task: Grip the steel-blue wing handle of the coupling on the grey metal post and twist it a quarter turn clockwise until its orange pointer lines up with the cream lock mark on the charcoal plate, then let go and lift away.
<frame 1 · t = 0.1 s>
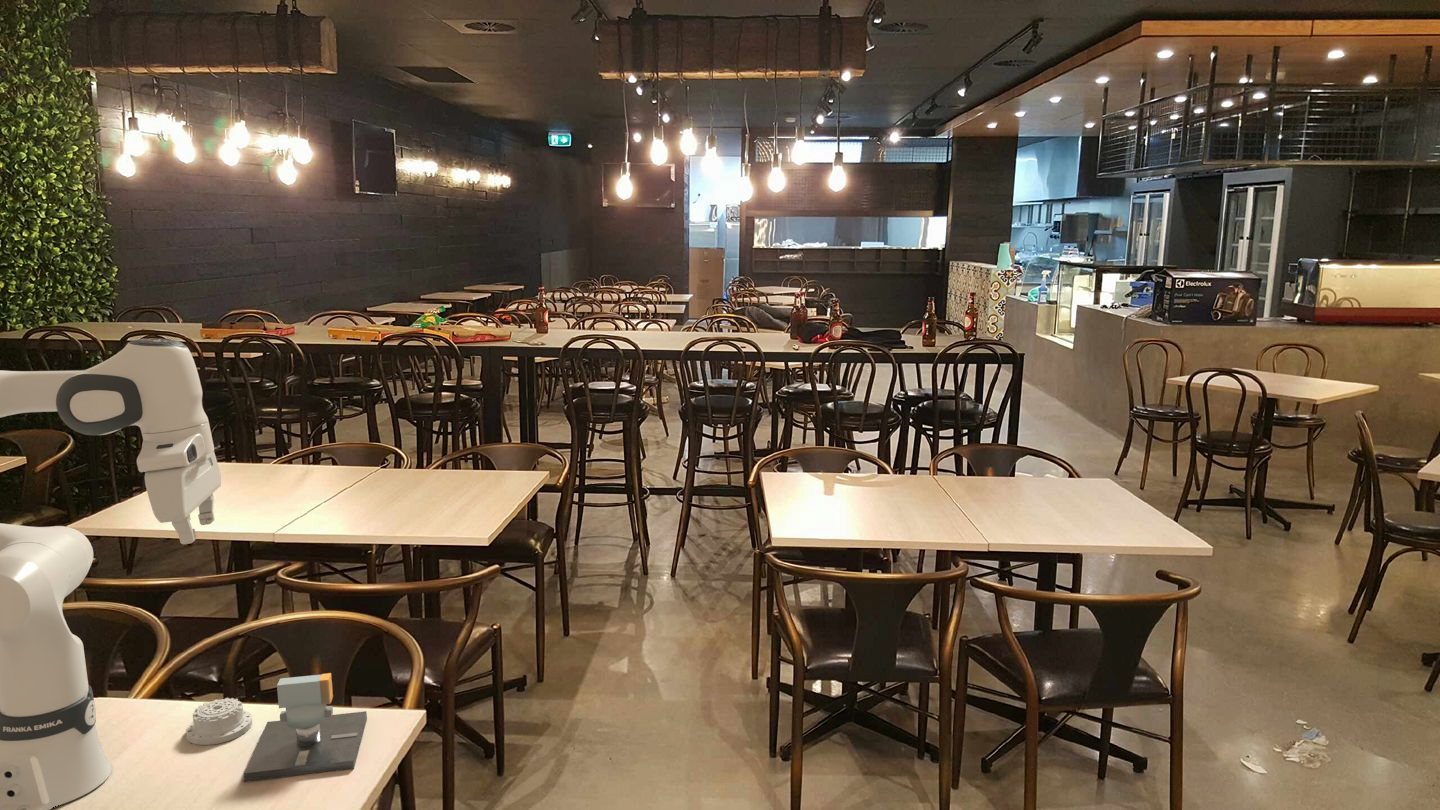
hand: (198, 532, 142), 39 cm above the table, tool pointing down, fingers open, 8 cm apart
post plate: (309, 748, 154), on the table
mechanical component: (220, 732, 160), on the table
coupling: (305, 699, 153), point 9 cm above the table, hinge at 0.0°
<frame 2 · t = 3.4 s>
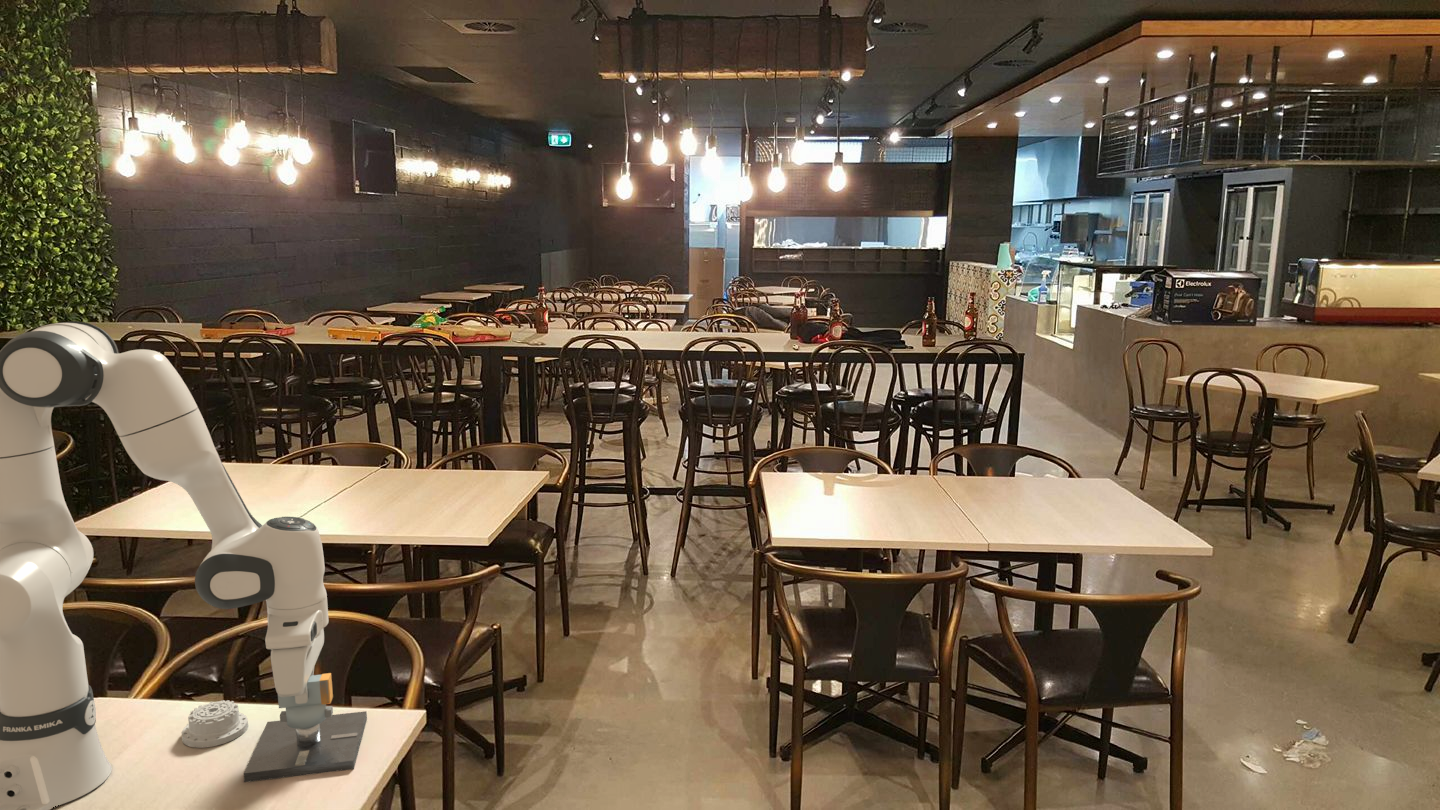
hand: (304, 696, 152), 9 cm above the table, tool pointing down, fingers closed on coupling, 2 cm apart
coupling: (305, 699, 153), point 9 cm above the table, hinge at 0.0°, touching gripper
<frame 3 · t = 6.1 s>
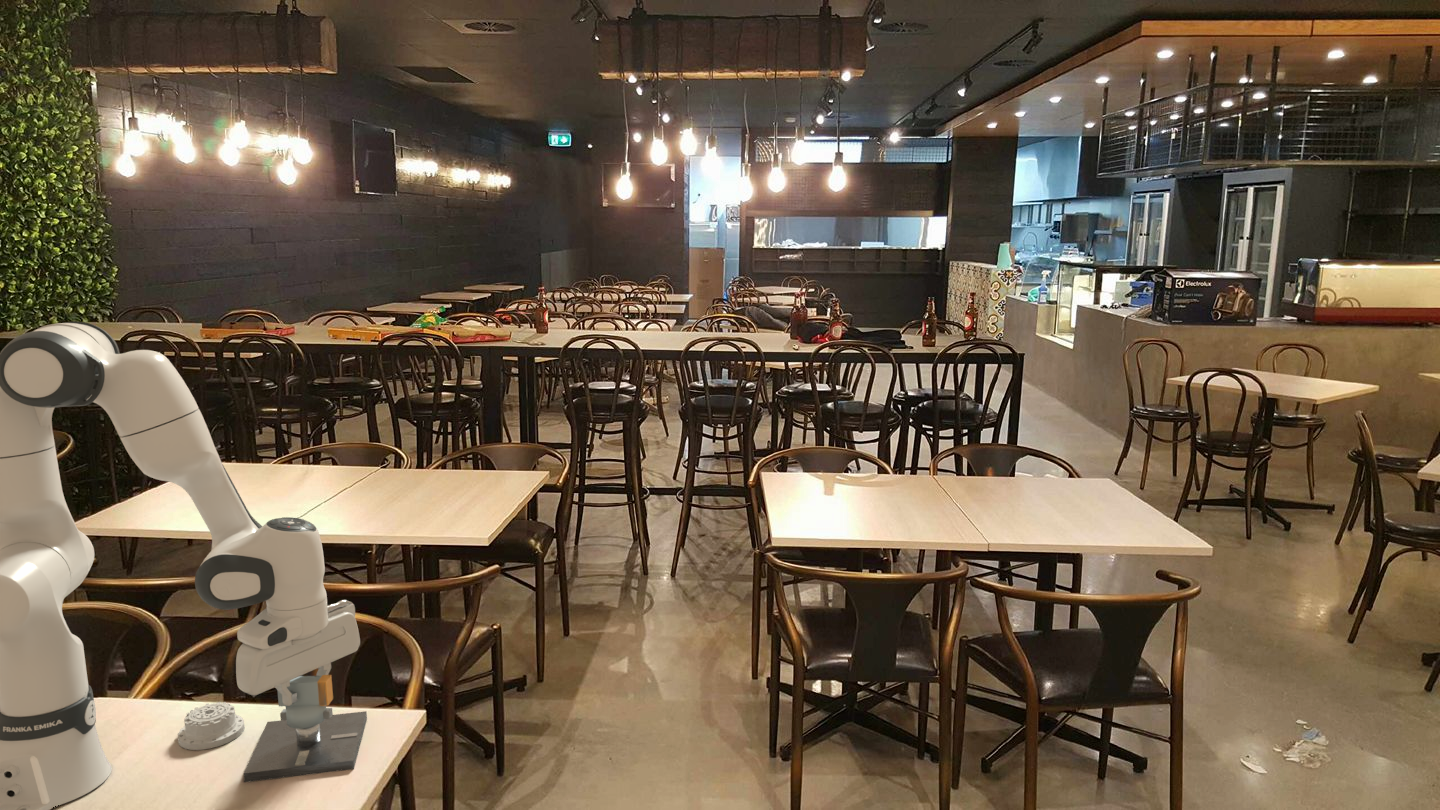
hand: (304, 696, 152), 9 cm above the table, tool pointing down, fingers closed on coupling, 4 cm apart
coupling: (305, 699, 153), point 9 cm above the table, hinge at -9.9°, touching gripper
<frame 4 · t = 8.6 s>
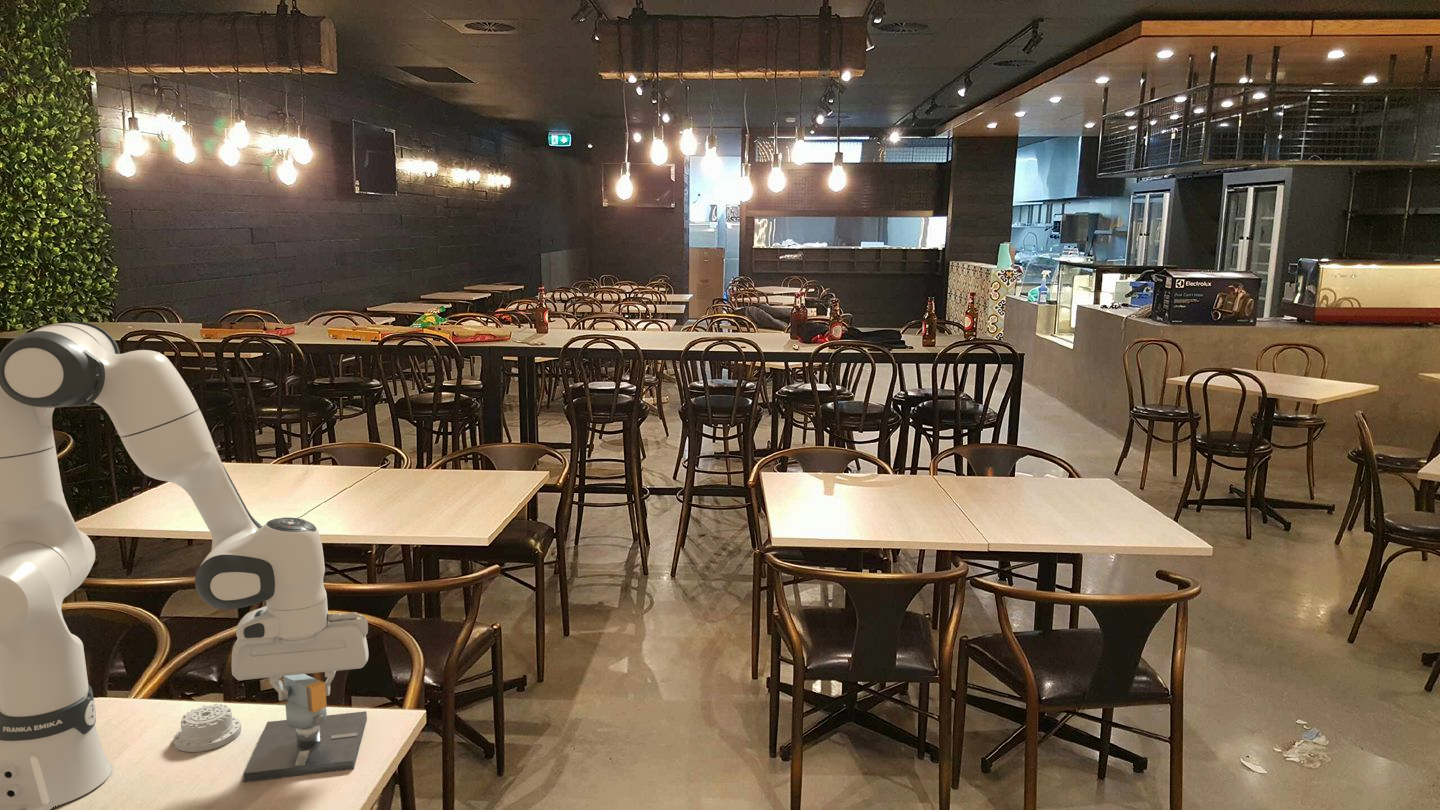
hand: (304, 696, 152), 9 cm above the table, tool pointing down, fingers closed on coupling, 5 cm apart
coupling: (305, 699, 152), point 9 cm above the table, hinge at -47.7°, touching gripper
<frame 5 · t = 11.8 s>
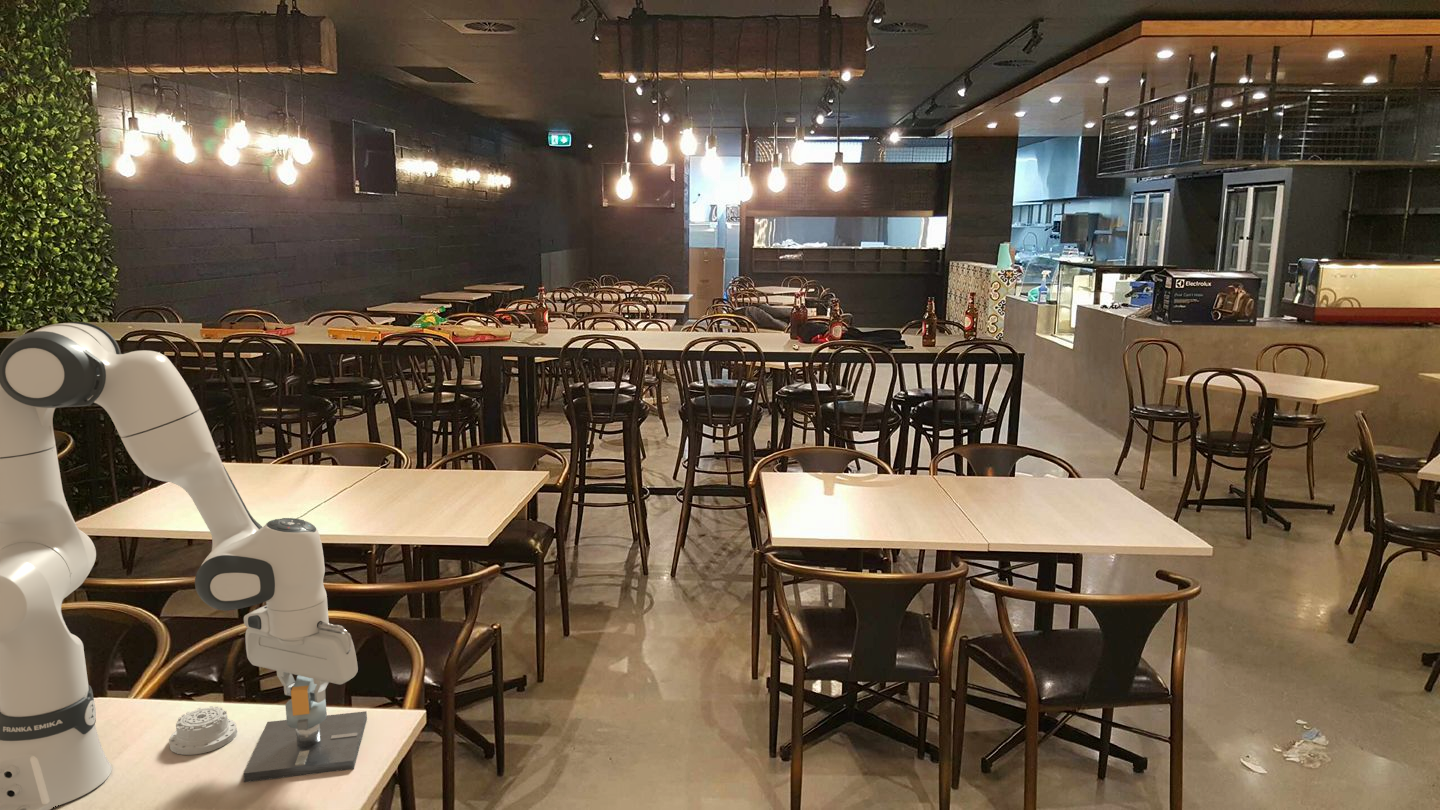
hand: (305, 697, 152), 9 cm above the table, tool pointing down, fingers closed on coupling, 4 cm apart
coupling: (305, 699, 152), point 9 cm above the table, hinge at -89.3°, touching gripper
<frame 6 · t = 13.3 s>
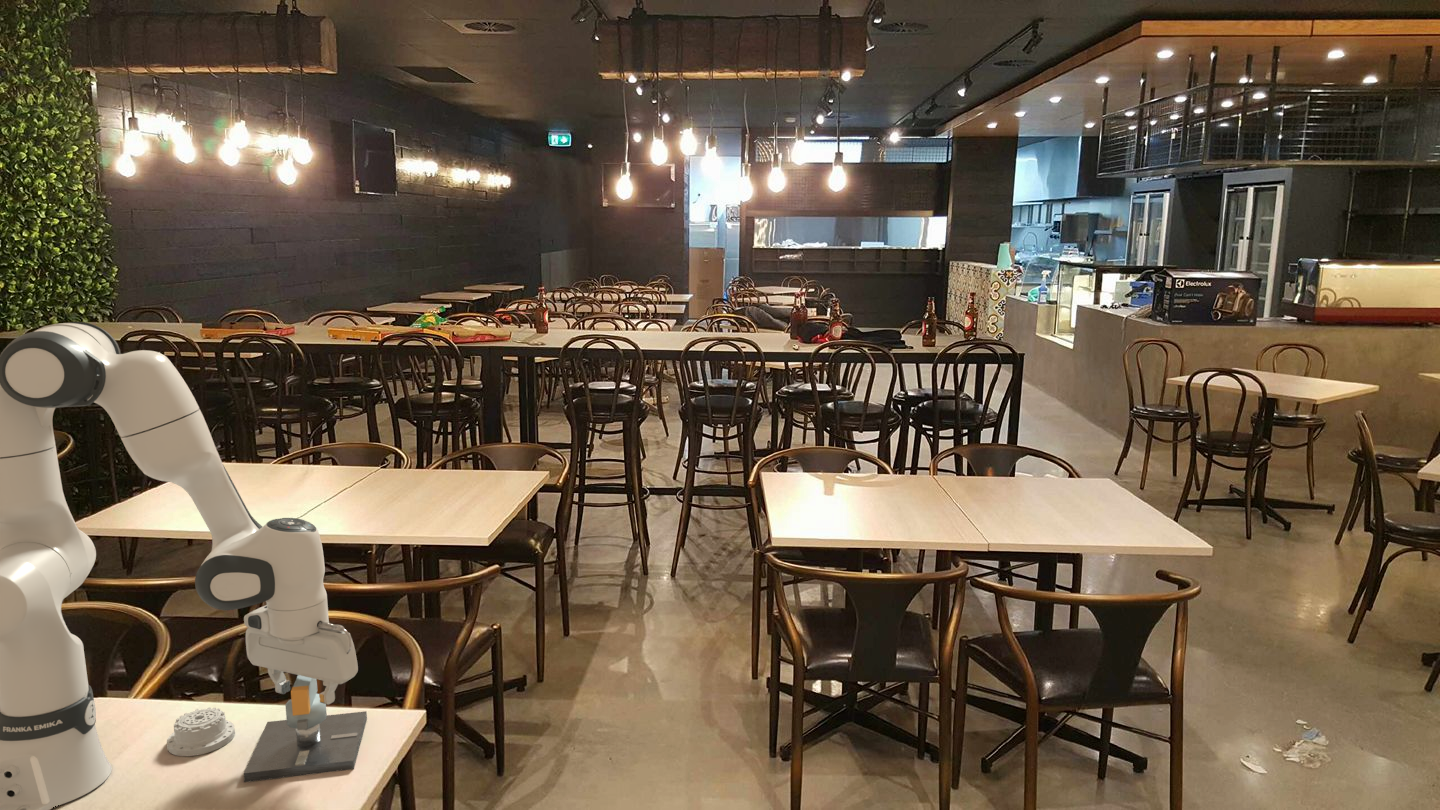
hand: (305, 697, 152), 9 cm above the table, tool pointing down, fingers open, 8 cm apart
coupling: (305, 699, 152), point 9 cm above the table, hinge at -89.7°
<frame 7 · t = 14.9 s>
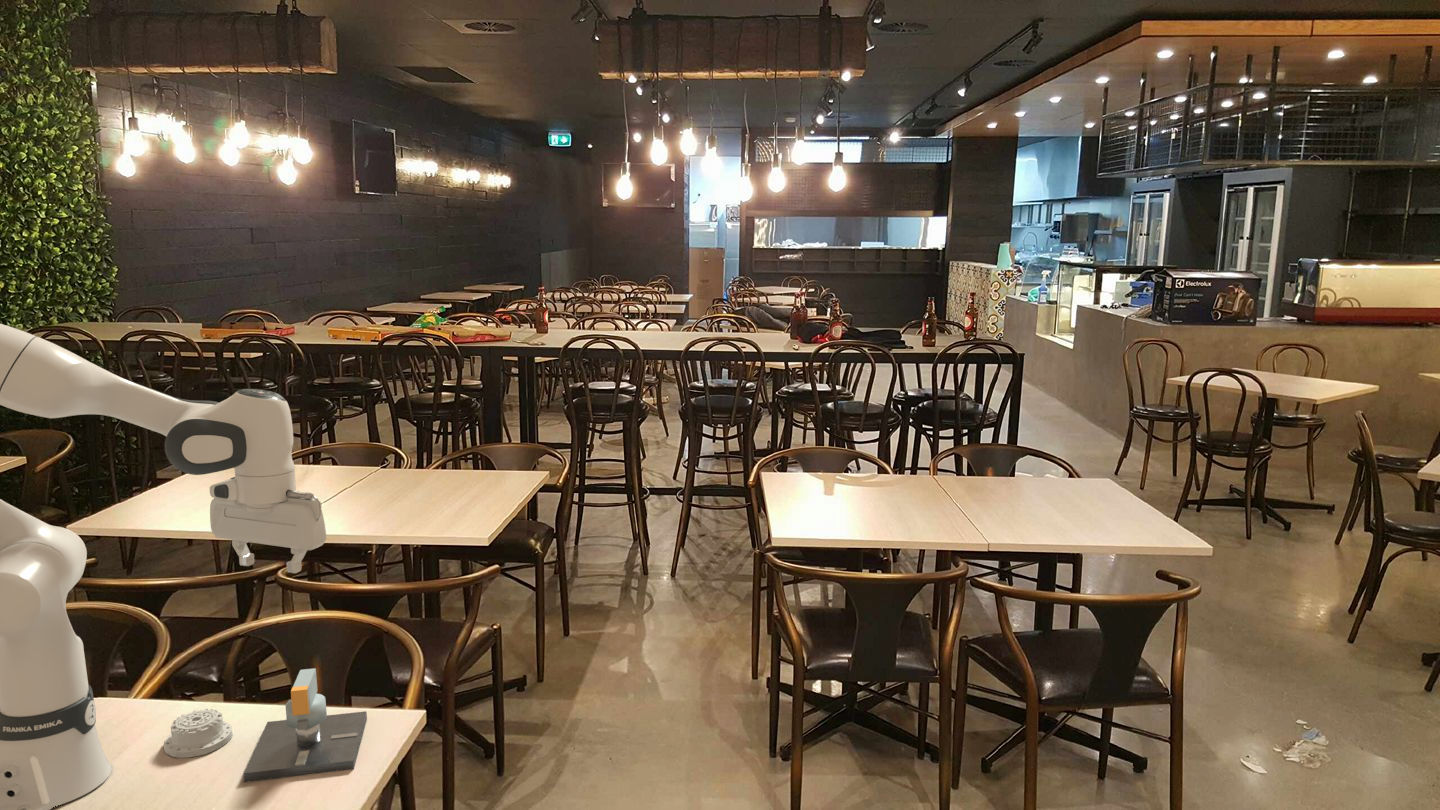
hand: (270, 568, 155), 29 cm above the table, tool pointing down, fingers open, 8 cm apart
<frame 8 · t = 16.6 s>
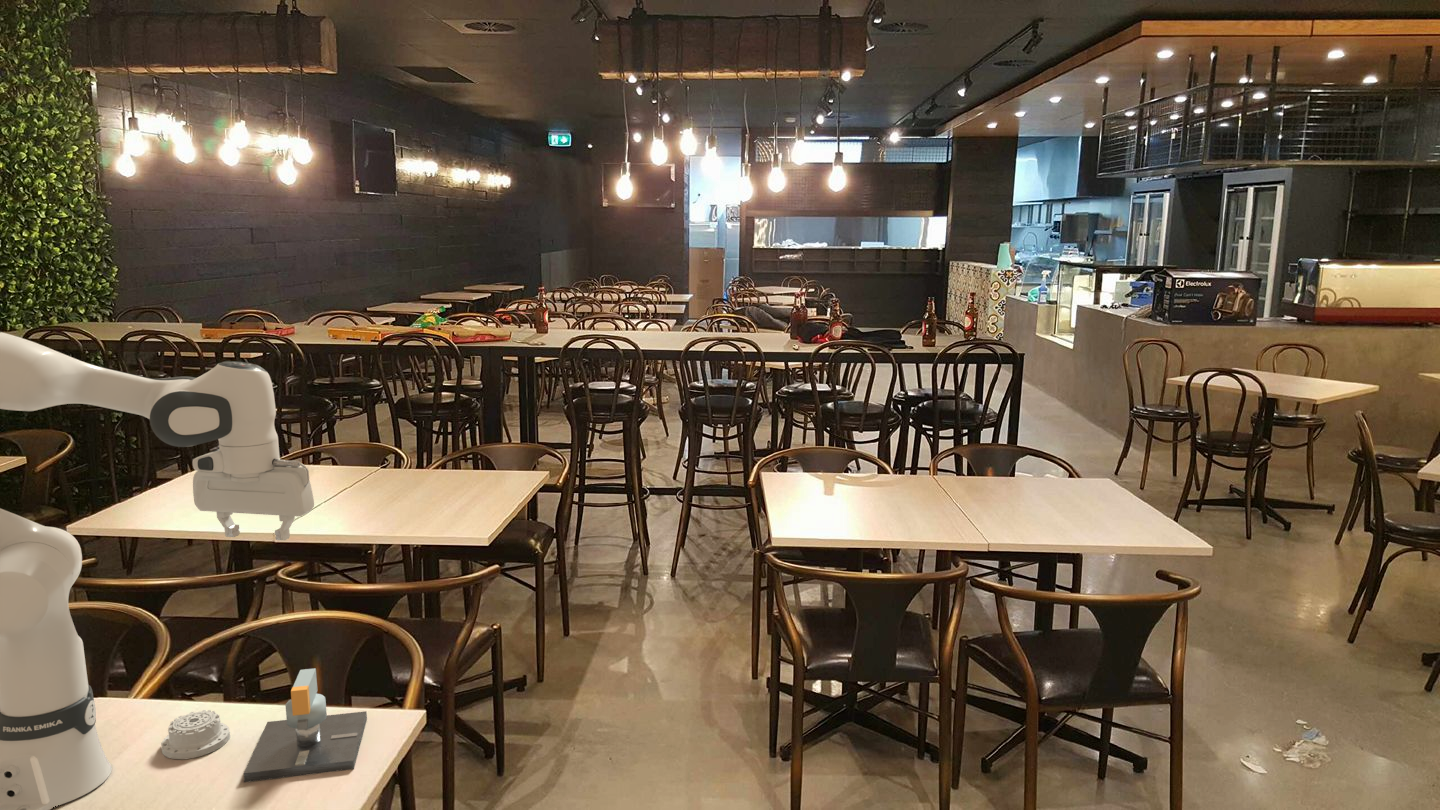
hand: (257, 537, 158), 33 cm above the table, tool pointing down, fingers open, 8 cm apart
at the end: coupling at -90° (first picture: +0°); the gripper is holding nothing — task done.
